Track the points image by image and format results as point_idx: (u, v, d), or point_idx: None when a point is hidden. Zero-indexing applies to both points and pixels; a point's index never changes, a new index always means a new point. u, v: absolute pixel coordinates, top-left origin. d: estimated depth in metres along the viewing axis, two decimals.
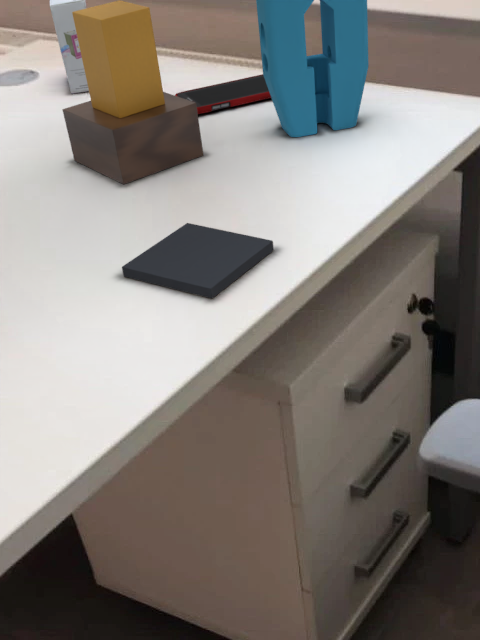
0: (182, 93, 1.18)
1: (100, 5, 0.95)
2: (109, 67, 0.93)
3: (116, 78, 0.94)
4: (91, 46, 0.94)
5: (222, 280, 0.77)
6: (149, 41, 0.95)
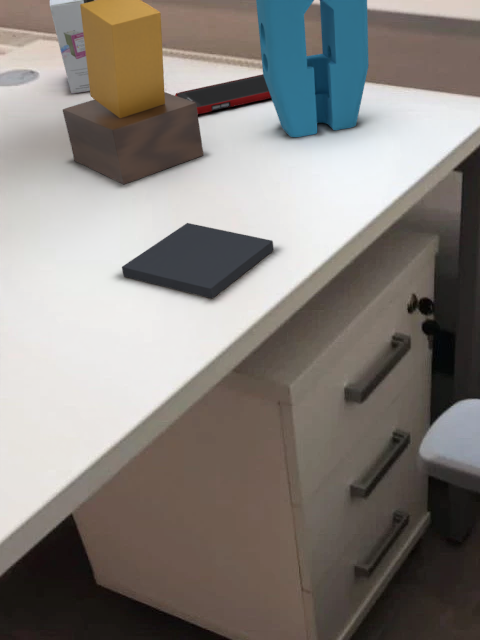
0: (182, 93, 1.18)
1: None
2: (115, 70, 0.93)
3: (120, 80, 0.94)
4: (97, 44, 0.93)
5: (222, 280, 0.77)
6: (157, 44, 0.94)
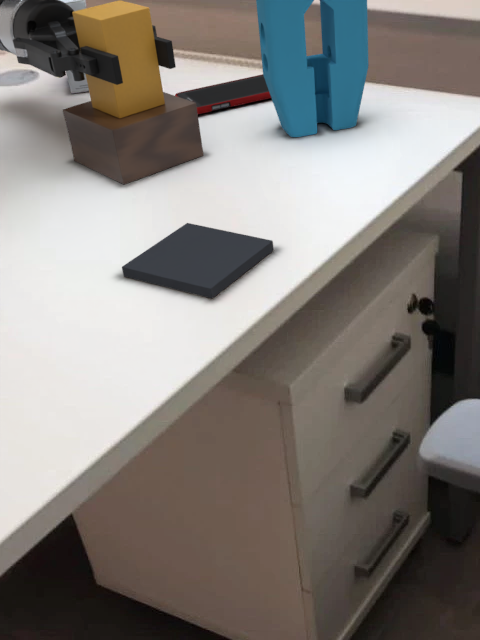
0: (182, 93, 1.18)
1: (100, 5, 0.95)
2: None
3: None
4: (91, 46, 0.94)
5: (222, 280, 0.77)
6: (149, 41, 0.95)
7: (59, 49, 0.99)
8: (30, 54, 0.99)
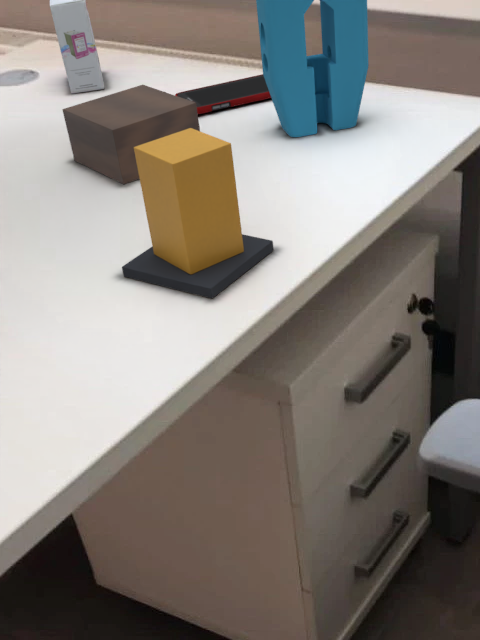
0: (182, 93, 1.18)
1: (168, 136, 0.77)
2: (180, 217, 0.75)
3: (188, 229, 0.75)
4: (157, 190, 0.75)
5: (222, 280, 0.77)
6: (229, 182, 0.76)
7: None
8: None
